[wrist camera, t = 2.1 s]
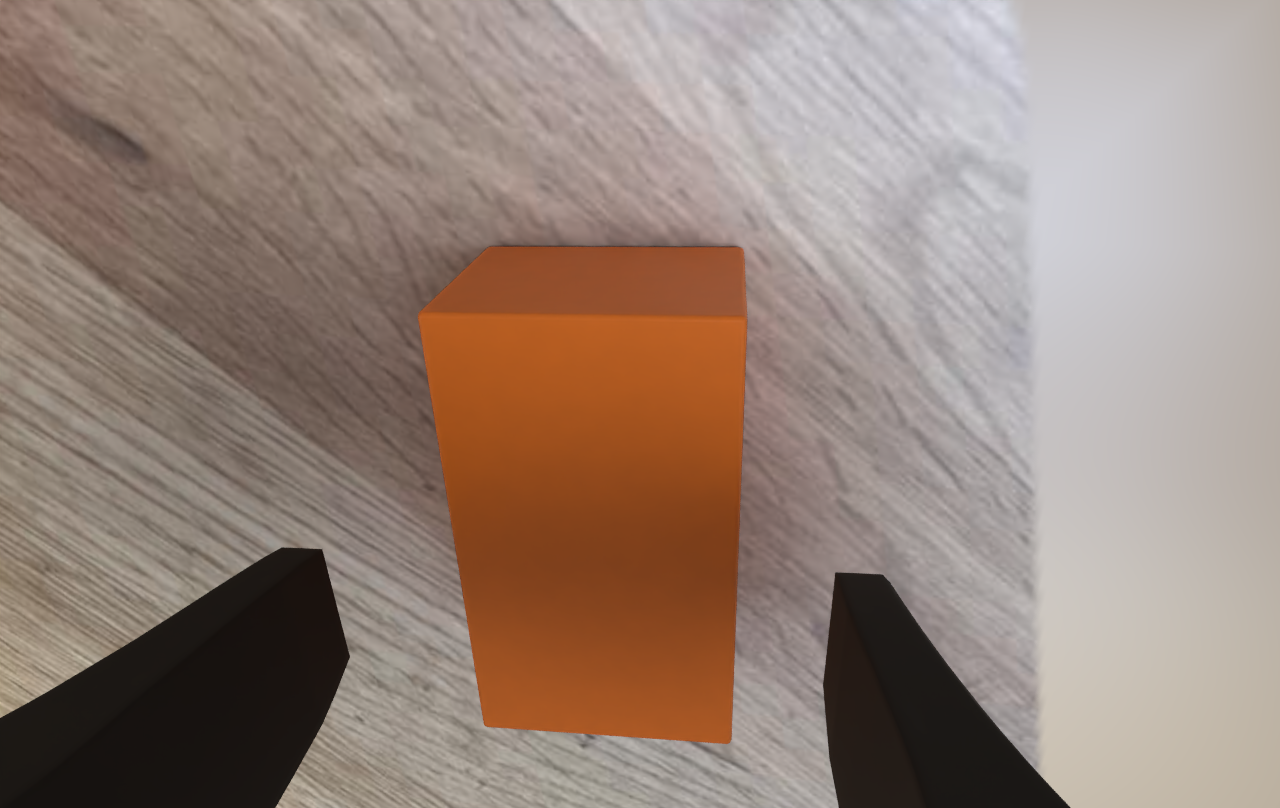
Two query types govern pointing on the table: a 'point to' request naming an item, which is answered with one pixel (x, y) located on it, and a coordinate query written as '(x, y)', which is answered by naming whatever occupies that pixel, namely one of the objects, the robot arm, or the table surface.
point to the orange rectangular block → (596, 482)
